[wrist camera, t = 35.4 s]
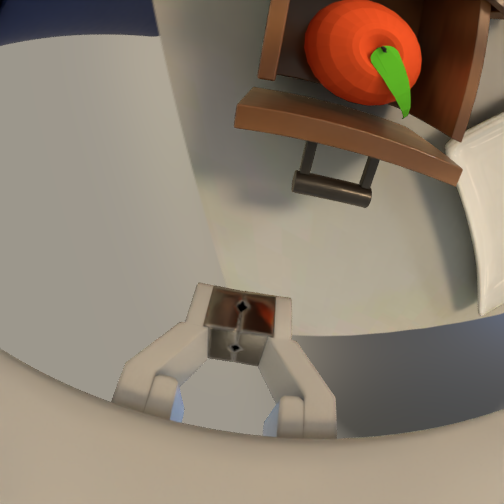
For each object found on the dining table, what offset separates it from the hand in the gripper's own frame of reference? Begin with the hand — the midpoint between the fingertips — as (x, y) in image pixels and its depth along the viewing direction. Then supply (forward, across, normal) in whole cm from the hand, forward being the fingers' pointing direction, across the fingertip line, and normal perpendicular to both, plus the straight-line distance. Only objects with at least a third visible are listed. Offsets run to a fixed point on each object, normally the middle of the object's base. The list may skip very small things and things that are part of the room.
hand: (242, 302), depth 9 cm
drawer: (+15, -4, -8) cm, 18 cm away
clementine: (+15, -5, -9) cm, 18 cm away
